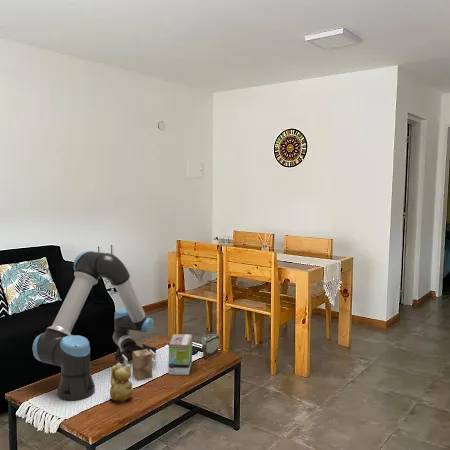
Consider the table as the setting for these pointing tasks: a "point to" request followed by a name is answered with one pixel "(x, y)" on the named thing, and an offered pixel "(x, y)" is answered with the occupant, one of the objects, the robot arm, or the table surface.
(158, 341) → the table surface
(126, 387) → the decorative figurine
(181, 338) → the tea box
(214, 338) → the food container
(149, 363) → the walnut block
